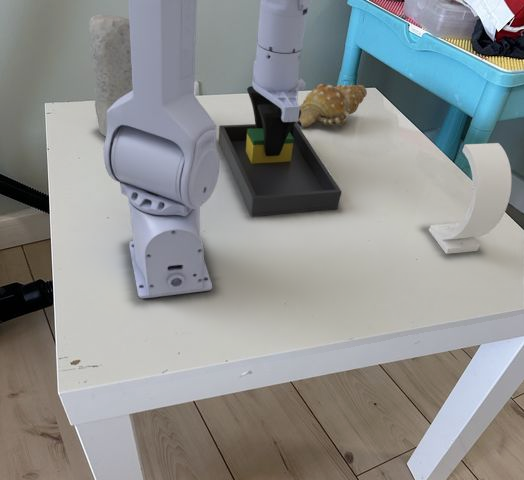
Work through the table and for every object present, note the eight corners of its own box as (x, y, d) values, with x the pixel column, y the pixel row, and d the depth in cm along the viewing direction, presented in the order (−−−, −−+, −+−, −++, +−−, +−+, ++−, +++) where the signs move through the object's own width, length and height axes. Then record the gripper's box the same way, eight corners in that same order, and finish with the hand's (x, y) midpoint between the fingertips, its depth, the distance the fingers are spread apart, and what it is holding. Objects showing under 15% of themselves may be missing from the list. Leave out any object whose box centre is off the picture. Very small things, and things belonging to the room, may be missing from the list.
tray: (337, 209, 68) (341, 191, 66) (251, 216, 65) (253, 198, 63) (293, 139, 80) (296, 122, 77) (218, 142, 76) (219, 125, 74)
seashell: (313, 124, 90) (349, 72, 85) (341, 152, 87) (379, 100, 82) (283, 110, 83) (319, 52, 78) (311, 140, 80) (352, 82, 75)
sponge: (283, 149, 76) (286, 126, 73) (290, 161, 74) (294, 138, 71) (245, 151, 75) (247, 128, 72) (251, 163, 72) (253, 140, 70)
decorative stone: (155, 113, 81) (147, 4, 69) (176, 128, 78) (172, 18, 67) (93, 129, 75) (74, 15, 64) (114, 146, 73) (99, 30, 61)
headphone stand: (458, 227, 68) (498, 143, 59) (481, 256, 64) (528, 170, 55) (428, 230, 67) (464, 144, 58) (449, 259, 63) (492, 172, 54)
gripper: (329, 68, 59) (310, 172, 70) (291, 24, 68) (279, 122, 78) (273, 68, 58) (262, 175, 68) (241, 23, 66) (236, 124, 77)
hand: (268, 147), depth 73 cm, fingers closed on sponge, 3 cm apart
